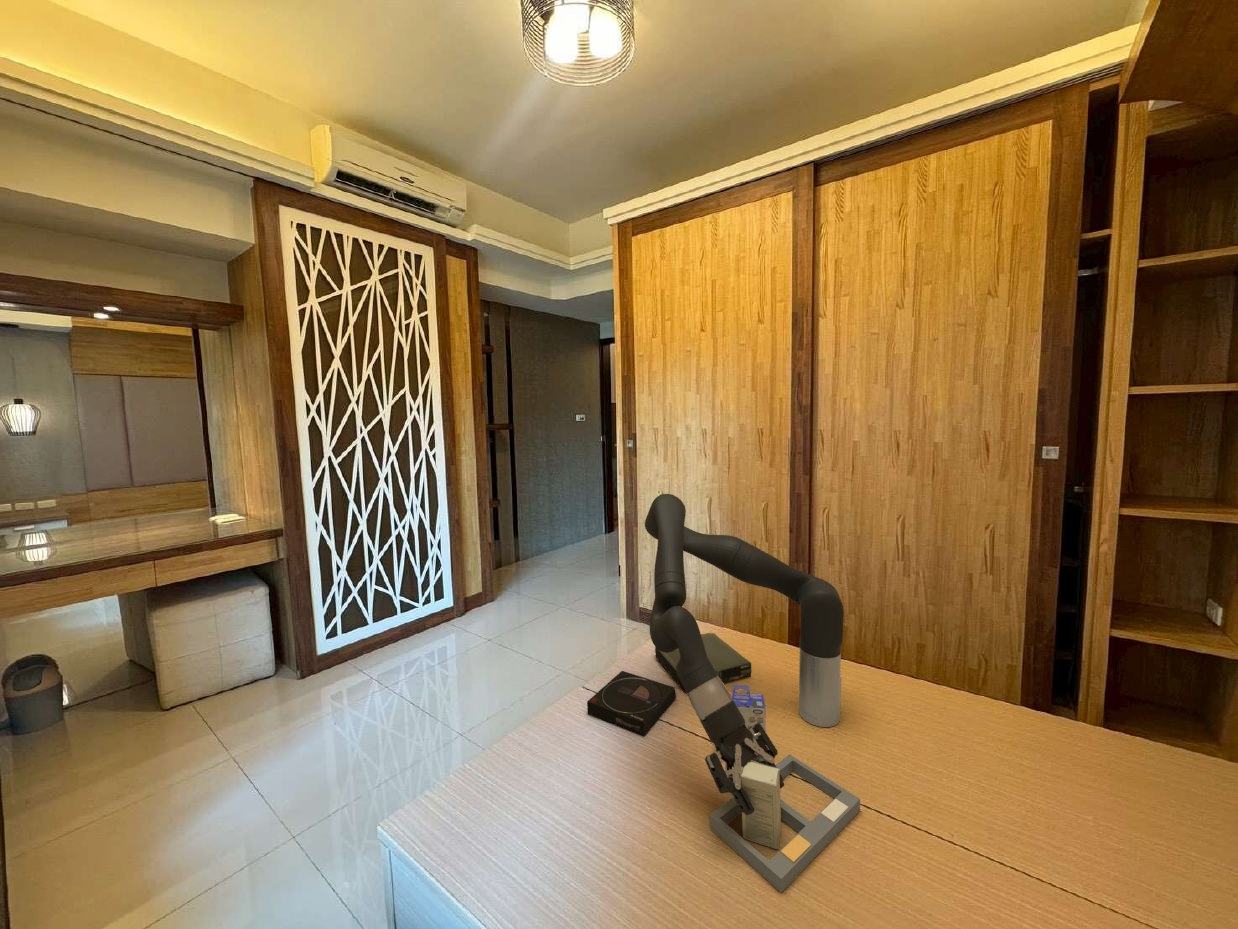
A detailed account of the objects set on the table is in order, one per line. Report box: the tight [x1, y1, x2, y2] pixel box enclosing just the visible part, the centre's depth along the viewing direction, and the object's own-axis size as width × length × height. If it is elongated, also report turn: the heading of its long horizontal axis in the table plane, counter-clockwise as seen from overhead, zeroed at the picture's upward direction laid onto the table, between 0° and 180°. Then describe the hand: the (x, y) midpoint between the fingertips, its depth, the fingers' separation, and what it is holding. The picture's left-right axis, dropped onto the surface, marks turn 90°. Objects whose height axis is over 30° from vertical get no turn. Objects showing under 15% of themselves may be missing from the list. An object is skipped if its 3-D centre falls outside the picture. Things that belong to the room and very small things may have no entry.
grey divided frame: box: [709, 753, 861, 894], centre depth 88 cm, size 24×15×3 cm, turn 126°
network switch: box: [654, 632, 752, 695], centre depth 140 cm, size 23×24×5 cm
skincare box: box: [740, 760, 782, 850], centre depth 84 cm, size 6×4×12 cm
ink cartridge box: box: [729, 684, 767, 746], centre depth 105 cm, size 10×6×14 cm, turn 80°
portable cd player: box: [586, 670, 677, 738], centre depth 123 cm, size 16×17×4 cm
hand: (765, 800), depth 83 cm, fingers open, 8 cm apart
